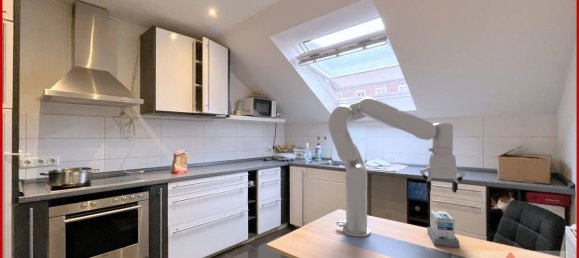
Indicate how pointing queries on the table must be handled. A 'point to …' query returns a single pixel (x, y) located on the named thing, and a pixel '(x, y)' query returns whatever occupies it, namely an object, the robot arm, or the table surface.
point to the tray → (442, 240)
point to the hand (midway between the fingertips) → (441, 190)
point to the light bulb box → (442, 225)
